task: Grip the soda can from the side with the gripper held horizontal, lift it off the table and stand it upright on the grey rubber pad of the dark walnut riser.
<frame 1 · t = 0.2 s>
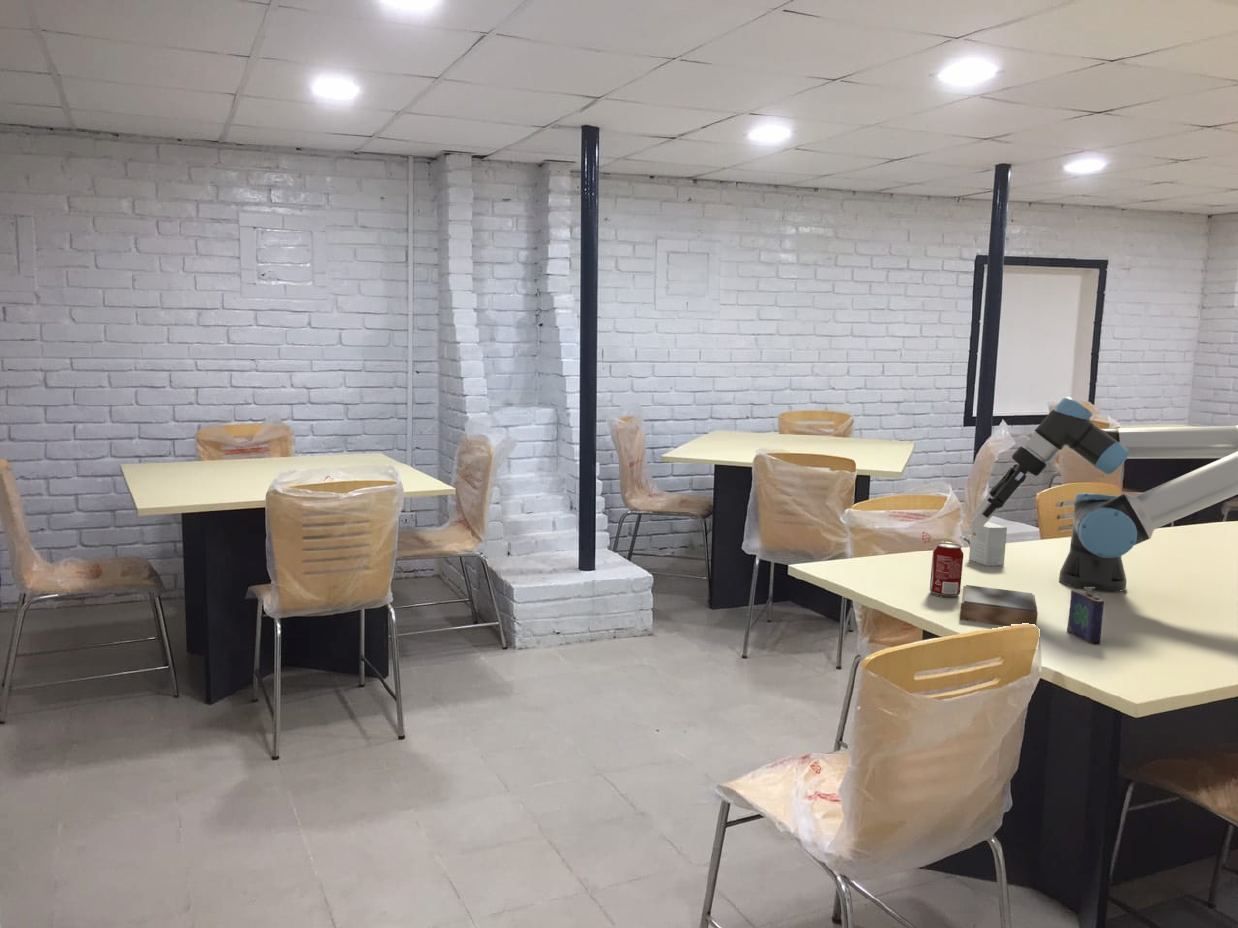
hand: (975, 521, 238), 15 cm above the table, tool tilted 35°, fingers open, 13 cm apart
soda can: (944, 595, 227), on the table
small box: (985, 563, 263), on the table
flask: (1083, 638, 198), on the table
riser: (997, 614, 212), on the table
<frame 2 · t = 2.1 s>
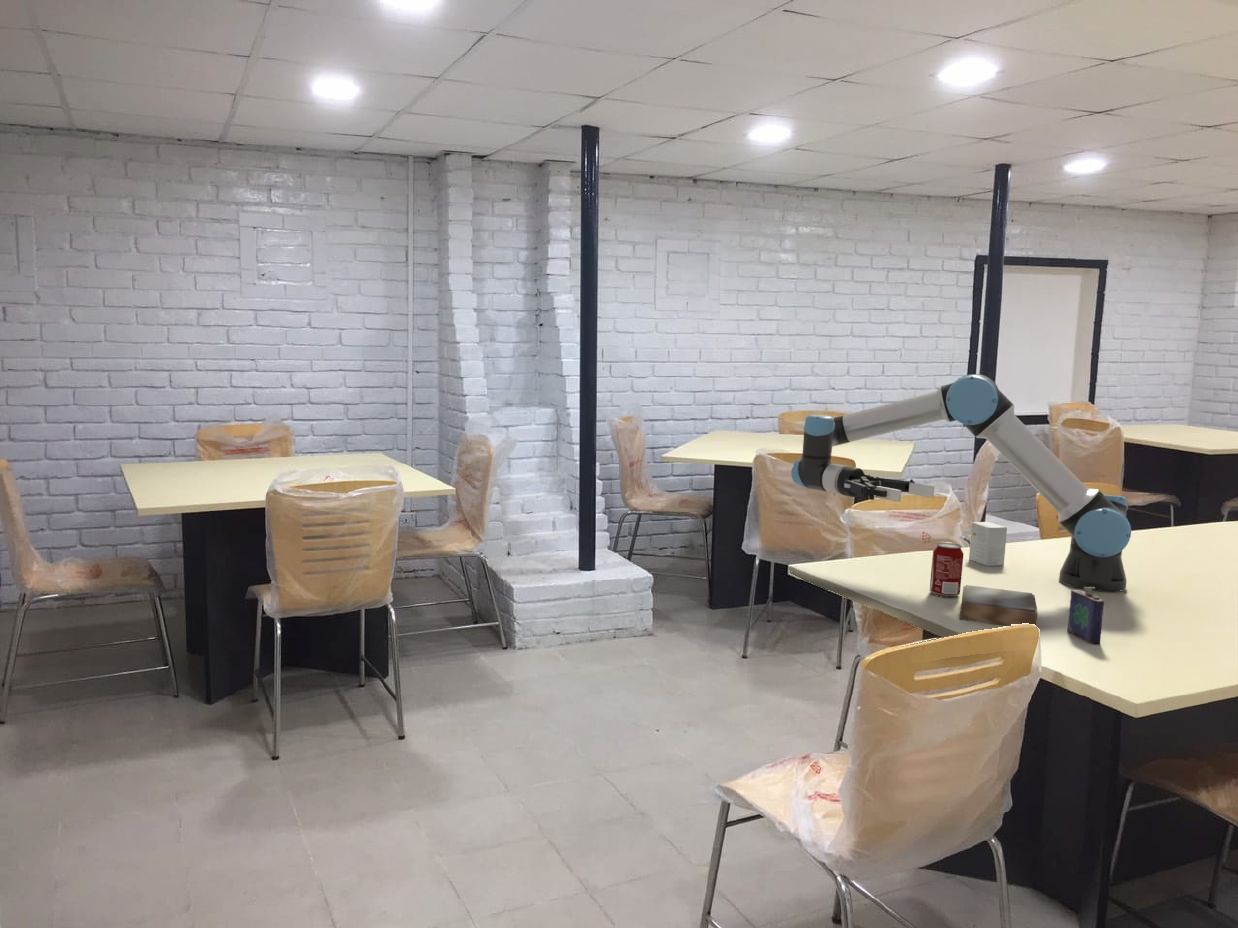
hand: (916, 494, 231), 22 cm above the table, tool horizontal, fingers open, 13 cm apart
nothing on the table moved.
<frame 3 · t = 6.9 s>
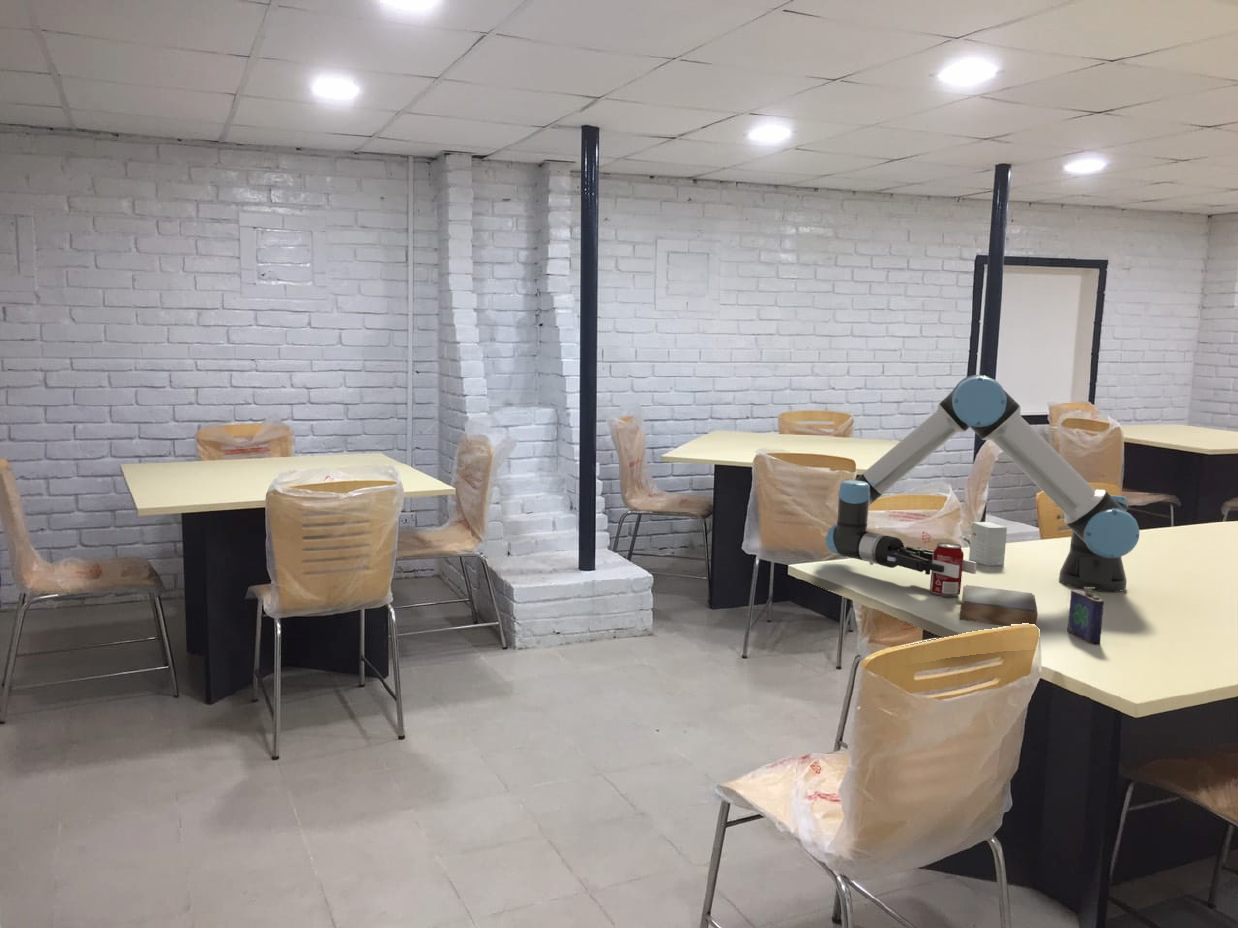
hand: (966, 570, 222), 7 cm above the table, tool horizontal, fingers closed on soda can, 6 cm apart
soda can: (944, 595, 227), on the table, touching gripper
everything else where it was.
when the fingers open (12 cm above the table, at t = 11.6 s): soda can drops 1 cm, resting on riser.
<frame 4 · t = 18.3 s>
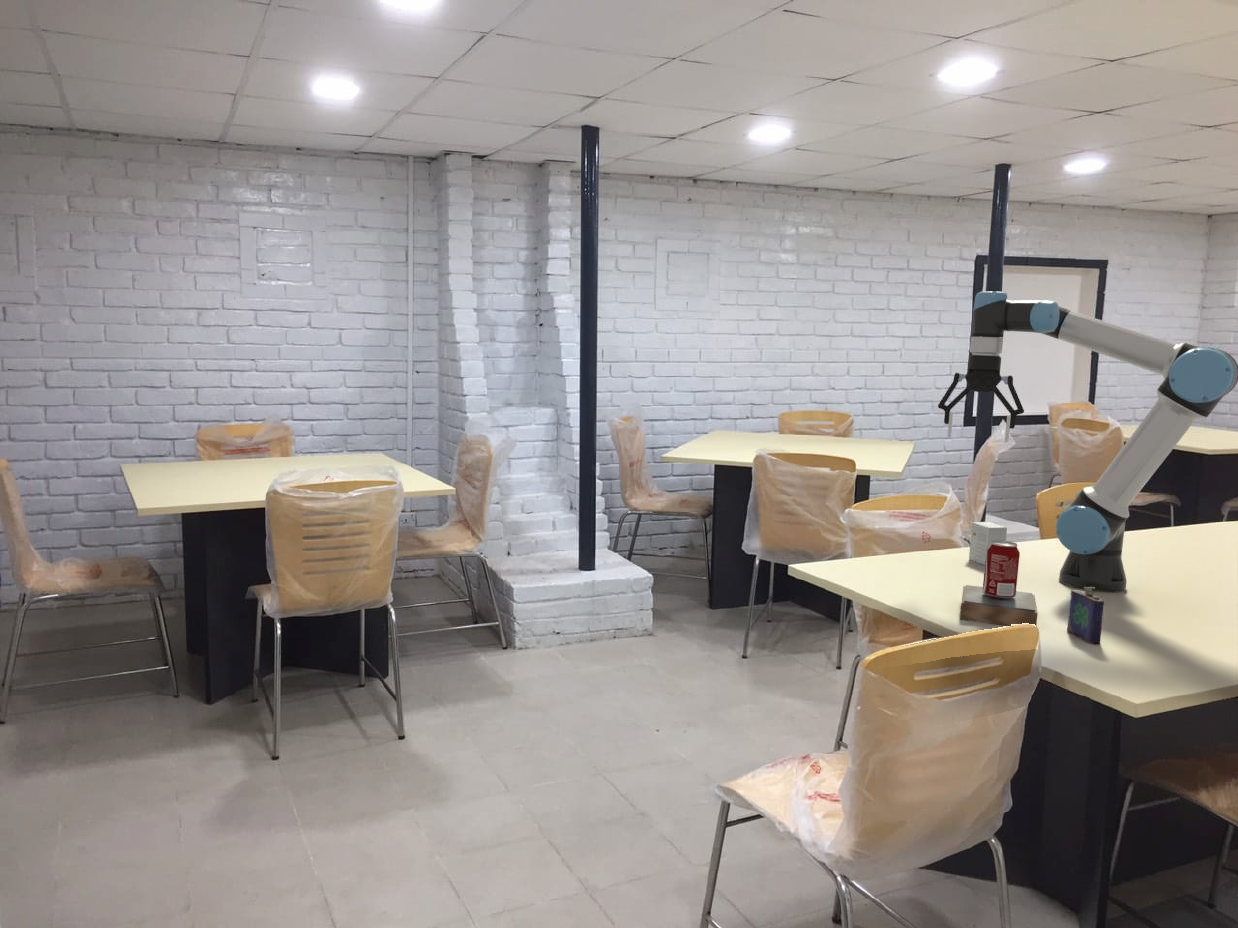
hand: (977, 439, 244), 35 cm above the table, tool pointing down, fingers open, 13 cm apart
soda can: (998, 597, 211), point 4 cm above the table, touching riser
everything else where it was.
at the end: soda can inside the target area on the riser (0.1 cm from its centre), point 3.8 cm above the riser's base; soda can tilted 0°; the gripper is holding nothing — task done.
